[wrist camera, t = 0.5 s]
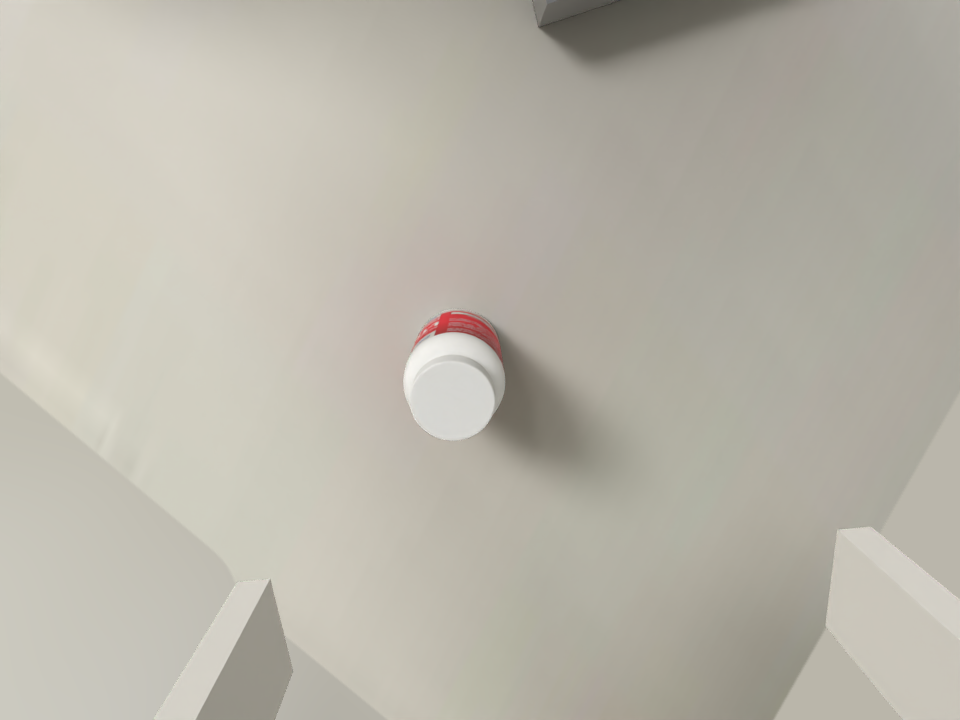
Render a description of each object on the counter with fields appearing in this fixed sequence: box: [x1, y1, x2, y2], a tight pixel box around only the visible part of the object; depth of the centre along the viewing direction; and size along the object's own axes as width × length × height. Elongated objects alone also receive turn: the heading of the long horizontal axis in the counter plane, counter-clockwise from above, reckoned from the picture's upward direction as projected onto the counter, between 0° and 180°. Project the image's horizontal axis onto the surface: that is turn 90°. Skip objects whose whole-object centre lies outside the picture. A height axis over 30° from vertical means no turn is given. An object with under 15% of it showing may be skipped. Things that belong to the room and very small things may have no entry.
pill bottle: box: [403, 309, 505, 441], centre depth 34 cm, size 6×6×11 cm
